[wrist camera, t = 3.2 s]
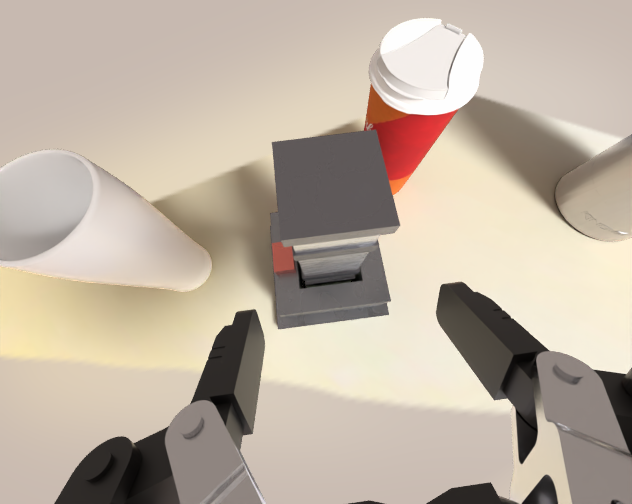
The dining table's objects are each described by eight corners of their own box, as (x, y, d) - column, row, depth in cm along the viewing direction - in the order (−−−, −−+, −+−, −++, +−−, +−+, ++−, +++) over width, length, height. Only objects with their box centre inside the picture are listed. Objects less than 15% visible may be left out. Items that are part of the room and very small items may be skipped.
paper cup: (373, 141, 31) (413, -2, 17) (425, 172, 29) (513, 43, 16) (335, 182, 29) (347, 61, 15) (388, 218, 27) (452, 118, 14)
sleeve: (272, 229, 27) (254, 198, 20) (366, 217, 27) (381, 182, 21) (279, 329, 24) (262, 331, 17) (386, 314, 24) (411, 311, 17)
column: (302, 251, 26) (271, 142, 10) (343, 246, 26) (376, 129, 10) (307, 293, 25) (280, 240, 9) (350, 287, 25) (400, 225, 9)
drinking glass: (159, 246, 27) (-25, 159, 13) (218, 234, 27) (102, 135, 13) (160, 305, 25) (-56, 281, 11) (223, 292, 25) (94, 251, 11)
